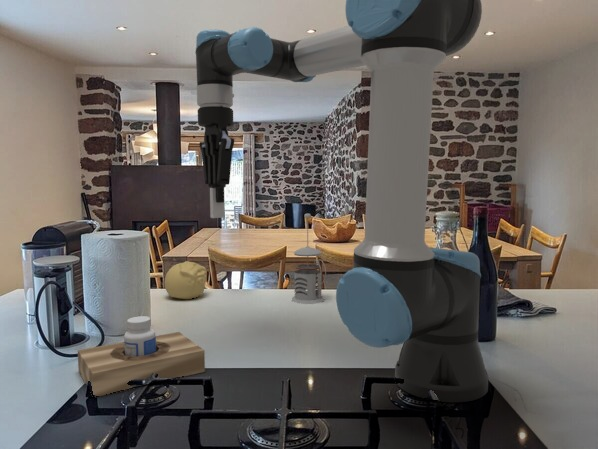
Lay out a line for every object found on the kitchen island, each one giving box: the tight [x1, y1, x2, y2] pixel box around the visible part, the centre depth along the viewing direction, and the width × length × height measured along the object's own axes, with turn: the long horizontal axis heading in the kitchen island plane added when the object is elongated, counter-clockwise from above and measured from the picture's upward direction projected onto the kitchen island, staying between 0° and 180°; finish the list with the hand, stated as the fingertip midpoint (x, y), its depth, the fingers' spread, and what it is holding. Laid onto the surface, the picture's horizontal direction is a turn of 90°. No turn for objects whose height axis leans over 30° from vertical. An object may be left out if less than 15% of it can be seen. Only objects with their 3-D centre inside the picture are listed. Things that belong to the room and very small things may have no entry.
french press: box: [291, 213, 327, 305], centre depth 140 cm, size 10×12×25 cm
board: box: [77, 331, 206, 397], centre depth 89 cm, size 13×19×4 cm
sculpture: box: [164, 260, 208, 300], centre depth 145 cm, size 12×12×11 cm
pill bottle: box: [123, 315, 157, 356], centre depth 89 cm, size 6×5×10 cm
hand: (217, 217), depth 107 cm, fingers closed
